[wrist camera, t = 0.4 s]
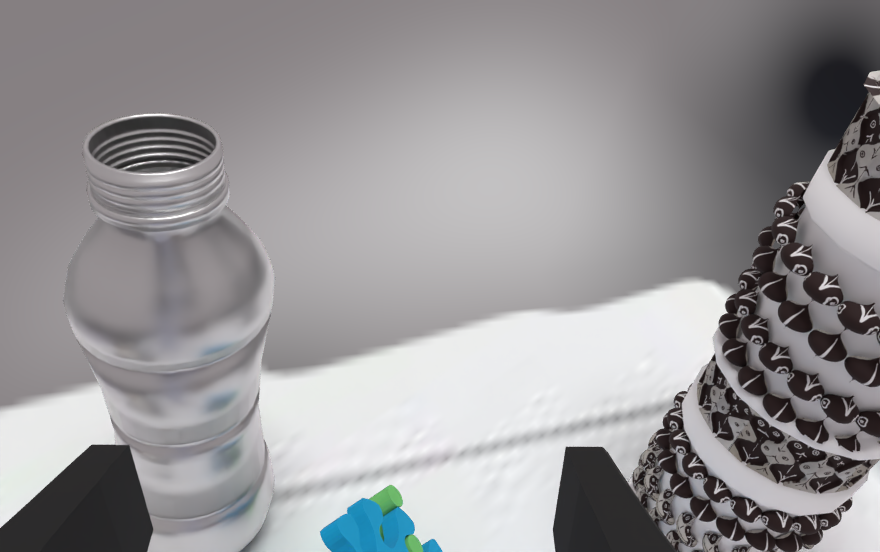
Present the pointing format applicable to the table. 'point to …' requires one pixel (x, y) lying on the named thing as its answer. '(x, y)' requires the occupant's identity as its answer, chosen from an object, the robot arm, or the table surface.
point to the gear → (375, 527)
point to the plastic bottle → (176, 327)
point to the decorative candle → (784, 374)
